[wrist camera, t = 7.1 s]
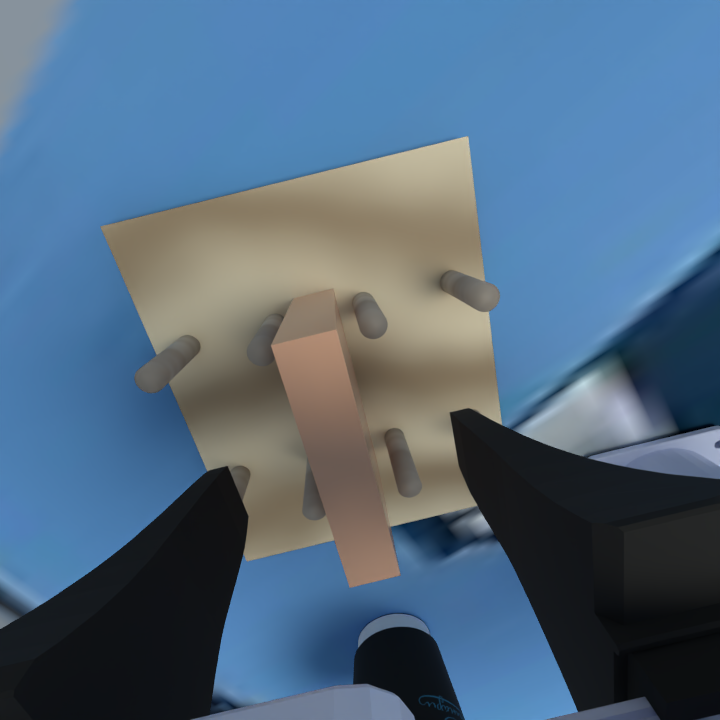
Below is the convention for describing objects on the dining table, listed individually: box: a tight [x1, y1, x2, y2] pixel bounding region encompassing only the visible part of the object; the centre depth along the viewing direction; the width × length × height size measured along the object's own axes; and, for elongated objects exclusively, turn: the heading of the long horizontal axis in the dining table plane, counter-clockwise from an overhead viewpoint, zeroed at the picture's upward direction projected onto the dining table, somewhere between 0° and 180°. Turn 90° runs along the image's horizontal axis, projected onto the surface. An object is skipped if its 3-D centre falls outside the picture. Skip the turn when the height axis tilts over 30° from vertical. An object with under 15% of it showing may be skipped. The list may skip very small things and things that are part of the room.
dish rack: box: [101, 136, 502, 561], centre depth 17 cm, size 18×15×5 cm
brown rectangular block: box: [271, 288, 401, 588], centre depth 15 cm, size 9×2×7 cm, turn 13°
